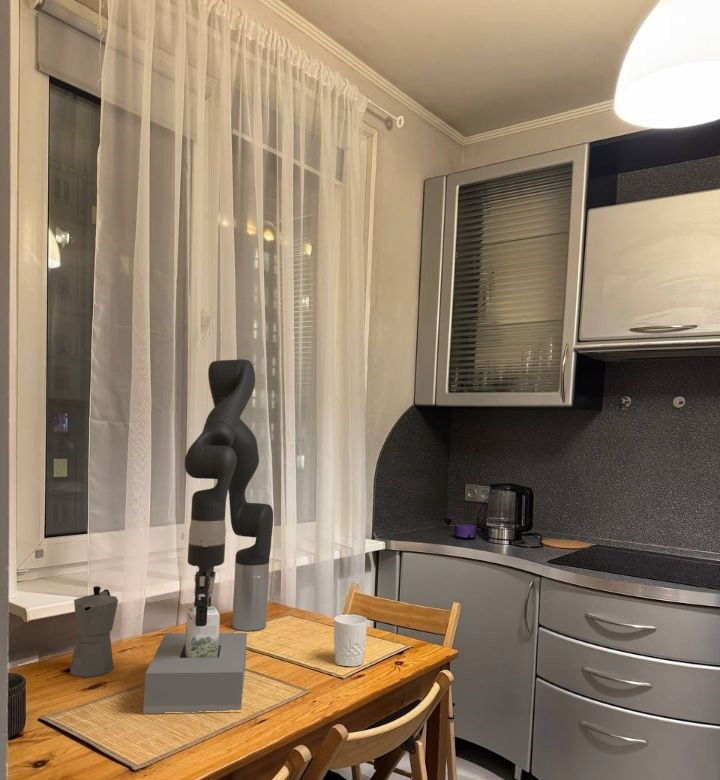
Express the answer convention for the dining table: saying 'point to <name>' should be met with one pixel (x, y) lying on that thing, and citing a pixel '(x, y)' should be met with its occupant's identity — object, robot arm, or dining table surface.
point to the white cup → (349, 639)
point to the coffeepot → (93, 634)
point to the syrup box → (202, 635)
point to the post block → (195, 676)
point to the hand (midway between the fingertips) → (203, 619)
